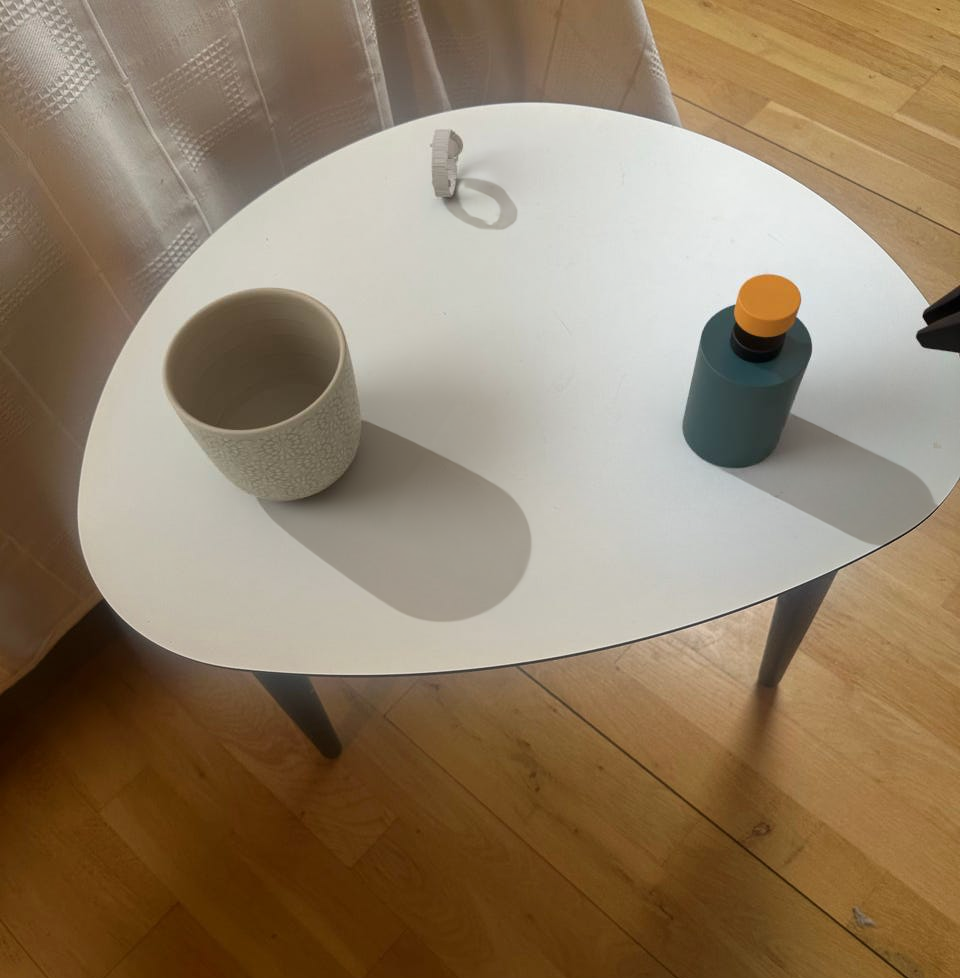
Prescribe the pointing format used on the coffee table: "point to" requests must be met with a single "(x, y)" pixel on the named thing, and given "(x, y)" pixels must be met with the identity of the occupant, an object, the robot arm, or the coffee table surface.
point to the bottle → (742, 390)
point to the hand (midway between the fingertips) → (922, 329)
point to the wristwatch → (445, 161)
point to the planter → (267, 391)
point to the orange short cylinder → (767, 305)
